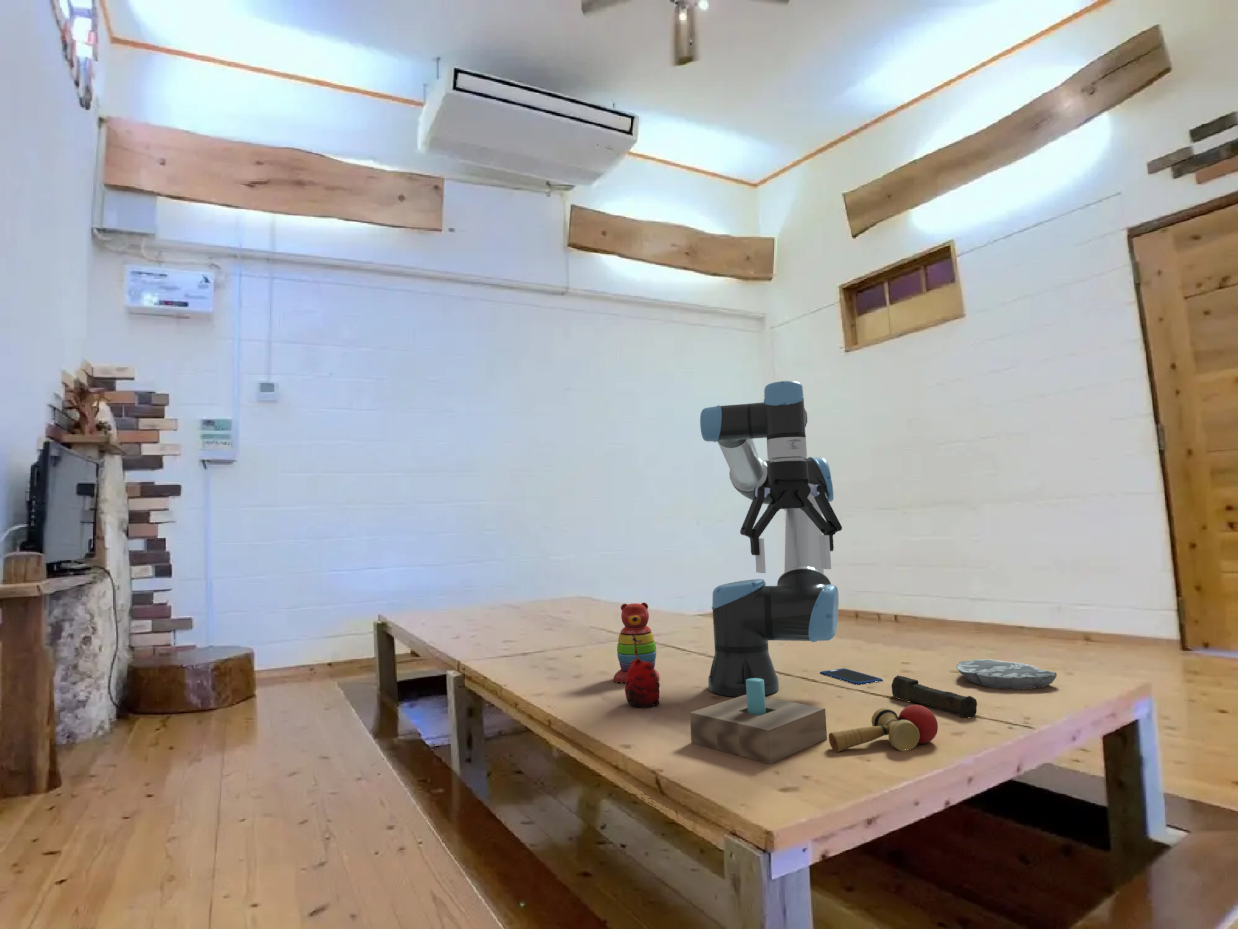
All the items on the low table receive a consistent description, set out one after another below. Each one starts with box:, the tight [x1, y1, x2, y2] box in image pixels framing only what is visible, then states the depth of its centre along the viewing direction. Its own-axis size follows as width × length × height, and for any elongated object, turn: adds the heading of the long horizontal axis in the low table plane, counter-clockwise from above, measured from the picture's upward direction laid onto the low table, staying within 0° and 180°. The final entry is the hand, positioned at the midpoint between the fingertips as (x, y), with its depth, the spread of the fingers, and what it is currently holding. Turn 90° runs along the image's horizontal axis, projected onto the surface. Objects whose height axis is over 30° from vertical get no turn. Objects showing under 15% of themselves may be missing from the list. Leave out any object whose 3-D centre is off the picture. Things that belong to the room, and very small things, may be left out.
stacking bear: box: [612, 602, 661, 683], centre depth 170 cm, size 11×10×18 cm
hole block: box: [689, 694, 828, 765], centre depth 119 cm, size 16×16×5 cm
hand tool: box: [891, 675, 978, 719], centre depth 136 cm, size 19×4×5 cm, turn 21°
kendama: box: [828, 704, 939, 753], centre depth 115 cm, size 8×6×18 cm
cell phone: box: [819, 667, 884, 686], centre depth 163 cm, size 7×14×1 cm, turn 20°
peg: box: [746, 678, 766, 716], centre depth 120 cm, size 3×3×10 cm
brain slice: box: [955, 658, 1058, 690], centre depth 153 cm, size 20×17×3 cm
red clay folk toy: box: [624, 633, 661, 708], centre depth 146 cm, size 8×7×15 cm
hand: (793, 571), depth 137 cm, fingers open, 13 cm apart
